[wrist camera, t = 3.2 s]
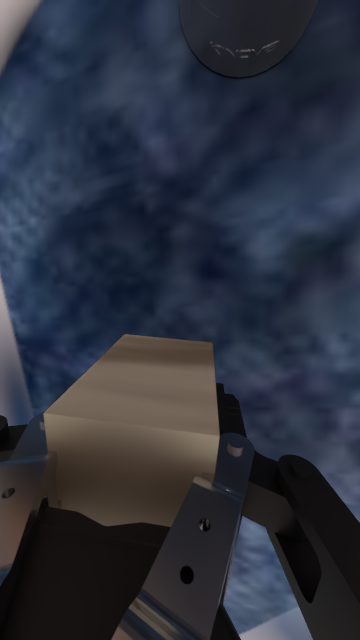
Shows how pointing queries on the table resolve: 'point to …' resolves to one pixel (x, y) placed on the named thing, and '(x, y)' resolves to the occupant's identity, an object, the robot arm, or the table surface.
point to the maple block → (136, 431)
